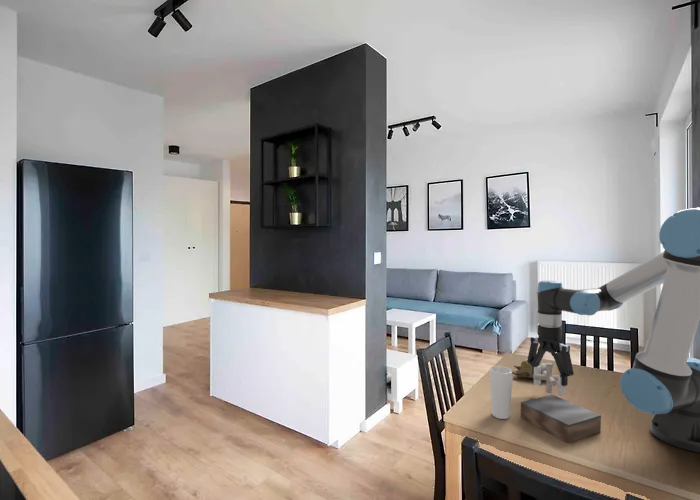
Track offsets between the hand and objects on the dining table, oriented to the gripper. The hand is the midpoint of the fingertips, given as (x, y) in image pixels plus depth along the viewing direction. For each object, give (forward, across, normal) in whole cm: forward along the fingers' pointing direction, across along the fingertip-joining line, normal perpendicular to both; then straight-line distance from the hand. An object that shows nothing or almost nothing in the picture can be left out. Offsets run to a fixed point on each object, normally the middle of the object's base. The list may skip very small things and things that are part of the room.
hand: (549, 389), depth 132 cm
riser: (+4, -14, +13) cm, 19 cm away
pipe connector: (+1, 0, 0) cm, 1 cm away
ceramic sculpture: (+4, +17, -12) cm, 22 cm away
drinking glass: (+4, -2, +25) cm, 25 cm away
